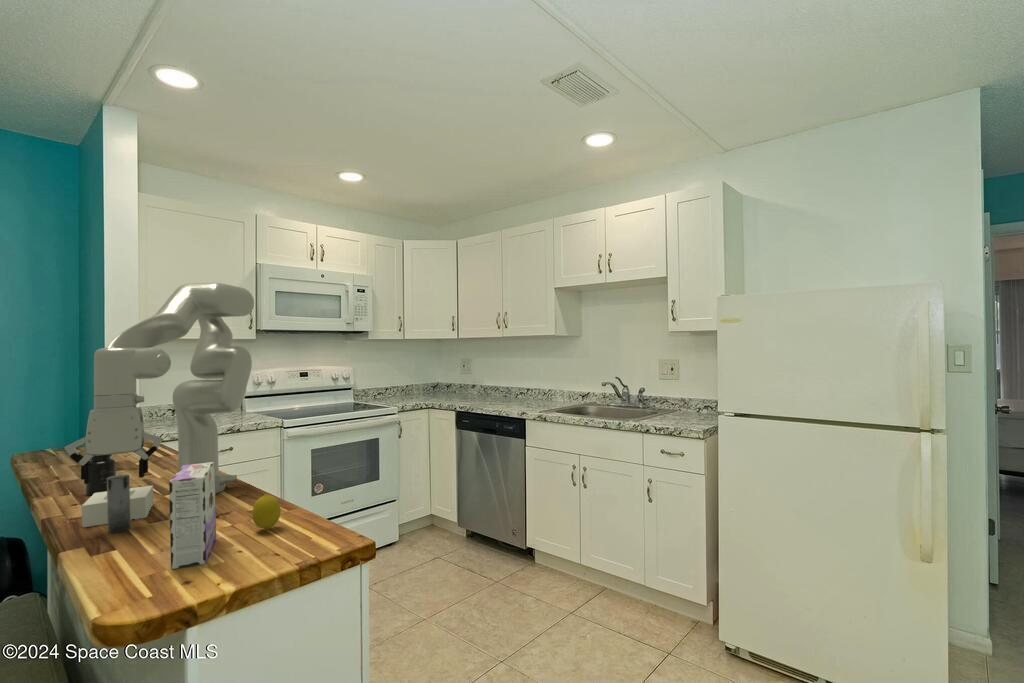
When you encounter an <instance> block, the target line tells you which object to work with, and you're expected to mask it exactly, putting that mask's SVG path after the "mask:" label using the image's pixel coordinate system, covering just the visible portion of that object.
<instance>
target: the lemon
mask: <svg viewBox="0 0 1024 683" xmlns="http://www.w3.org/2000/svg"><path fill="white" fill-rule="evenodd" d="M280 517H281V505H280V502H279V500H278V498H276V497H275V496H273V495H271V494H268V493H264V494H263V496H261V497H259V498H257V500H256V501H255V502H254V505H253V507H252V522H253V523H254V524H255V525H256V526H257V528H260V529H263V530H265V531H269V530H270V529H271V528H272V527H274V526H275V525H276V524H277V523H278V521H279V519H280Z"/></svg>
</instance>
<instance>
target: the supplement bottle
mask: <svg viewBox="0 0 1024 683" xmlns="http://www.w3.org/2000/svg"><path fill="white" fill-rule="evenodd" d="M112 455H113V454H109V455H97V456H94V457H93V458H92V459H91V460H90V463H91V464H92V481H91V482H89V483H88V484H85V494H86V495H87V496H89V495H93V494H94V493H98V492H106V491H107V478H108V477H111V476H116V475H117V465H116V464H117V463H116V460H115V459H114V458H112Z"/></svg>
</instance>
